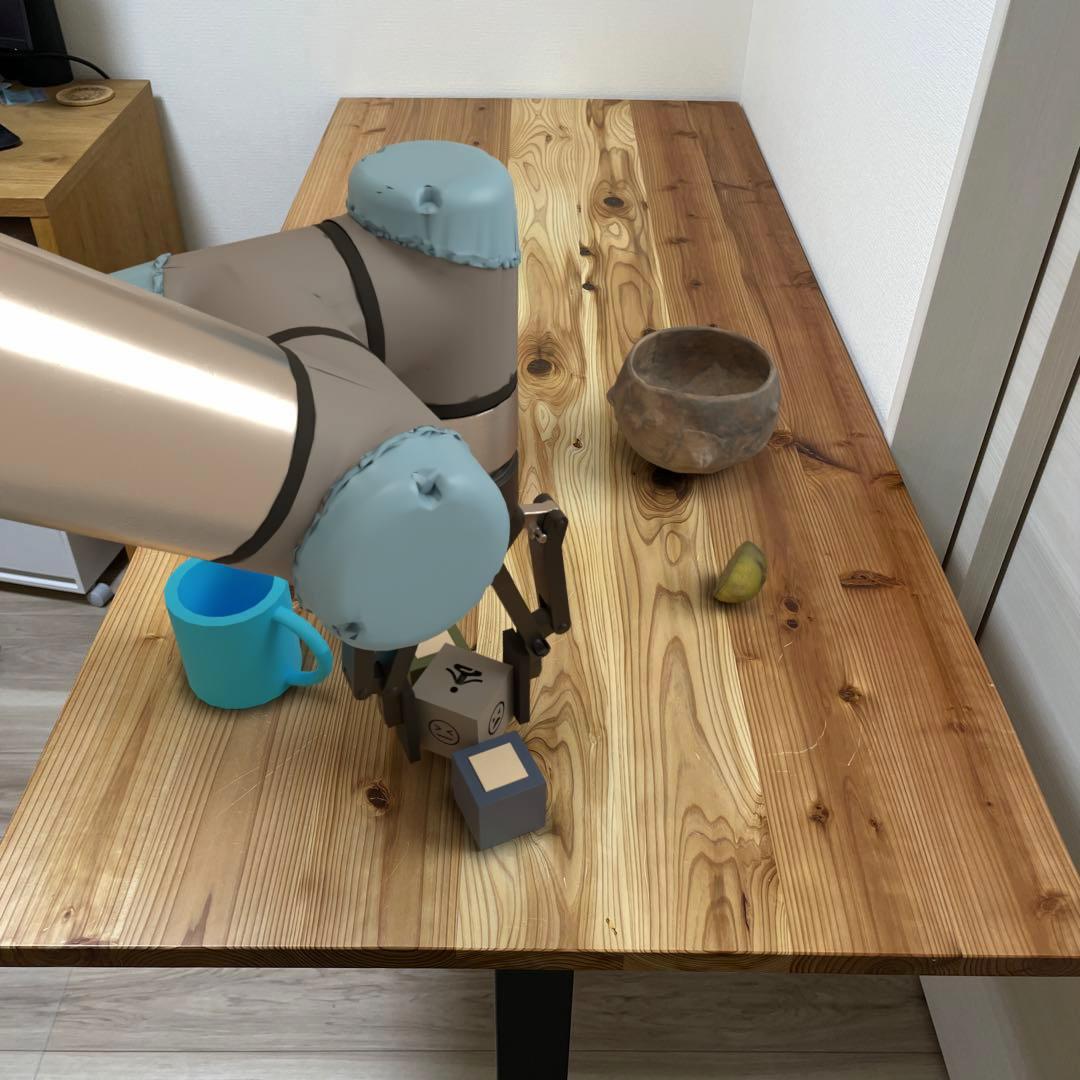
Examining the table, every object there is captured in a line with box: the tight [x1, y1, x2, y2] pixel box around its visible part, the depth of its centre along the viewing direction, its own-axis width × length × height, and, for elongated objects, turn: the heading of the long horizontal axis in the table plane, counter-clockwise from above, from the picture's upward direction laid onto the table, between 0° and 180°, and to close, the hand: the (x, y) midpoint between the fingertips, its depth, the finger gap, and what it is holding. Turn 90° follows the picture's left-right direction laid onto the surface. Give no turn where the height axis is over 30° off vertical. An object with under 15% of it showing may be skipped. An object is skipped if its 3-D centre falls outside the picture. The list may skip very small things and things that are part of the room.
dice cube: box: [412, 643, 515, 760], centre depth 70 cm, size 5×5×5 cm
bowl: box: [605, 325, 782, 475], centre depth 96 cm, size 14×15×10 cm
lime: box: [713, 540, 768, 604], centre depth 83 cm, size 4×5×5 cm
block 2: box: [450, 729, 548, 852], centre depth 67 cm, size 4×4×5 cm
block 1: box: [407, 623, 473, 687], centre depth 75 cm, size 4×4×5 cm
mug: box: [163, 557, 334, 710], centre depth 75 cm, size 12×8×8 cm
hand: (463, 727), depth 72 cm, fingers closed on dice cube, 7 cm apart
